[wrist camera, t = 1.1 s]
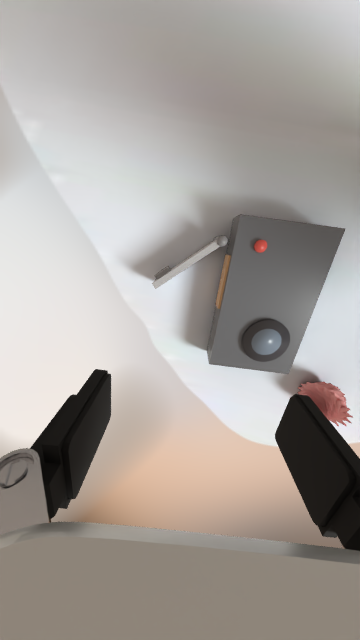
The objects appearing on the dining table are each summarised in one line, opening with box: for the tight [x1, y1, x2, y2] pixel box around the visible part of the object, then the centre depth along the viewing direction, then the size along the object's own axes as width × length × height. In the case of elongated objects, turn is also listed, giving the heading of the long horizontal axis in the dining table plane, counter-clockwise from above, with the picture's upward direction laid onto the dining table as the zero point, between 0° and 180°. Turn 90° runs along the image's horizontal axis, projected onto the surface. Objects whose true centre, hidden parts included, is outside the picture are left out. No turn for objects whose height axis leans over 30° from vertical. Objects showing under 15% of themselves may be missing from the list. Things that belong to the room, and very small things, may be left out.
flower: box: [298, 382, 353, 426], centre depth 32 cm, size 8×8×6 cm
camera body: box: [207, 215, 345, 374], centre depth 28 cm, size 12×20×4 cm, turn 173°
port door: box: [152, 236, 228, 289], centre depth 26 cm, size 2×11×4 cm, turn 123°
